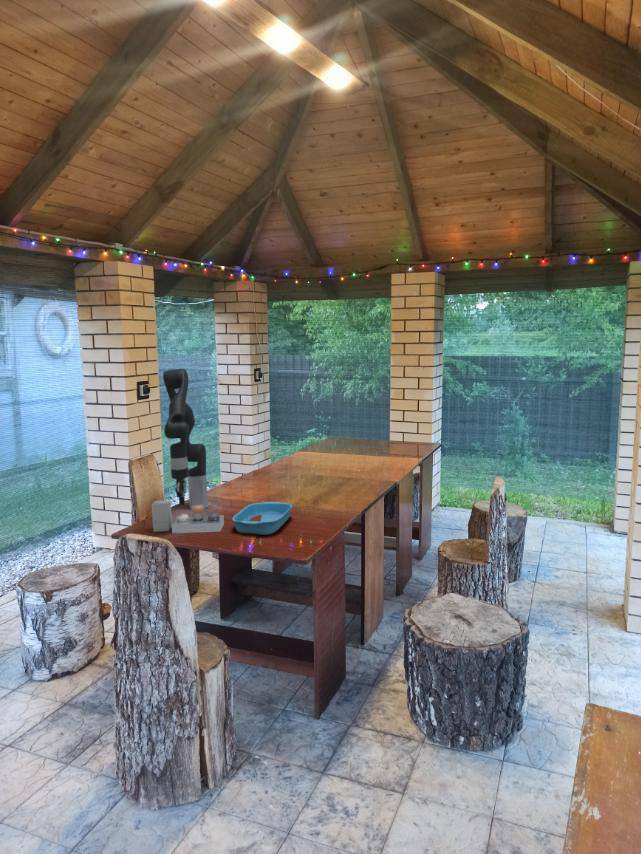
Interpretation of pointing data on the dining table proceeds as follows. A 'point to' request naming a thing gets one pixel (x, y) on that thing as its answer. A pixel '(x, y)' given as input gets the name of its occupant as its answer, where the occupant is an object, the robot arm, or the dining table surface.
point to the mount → (198, 525)
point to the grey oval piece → (182, 517)
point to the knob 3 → (213, 516)
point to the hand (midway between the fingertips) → (182, 504)
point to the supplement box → (161, 515)
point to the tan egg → (197, 511)
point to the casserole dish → (262, 517)
